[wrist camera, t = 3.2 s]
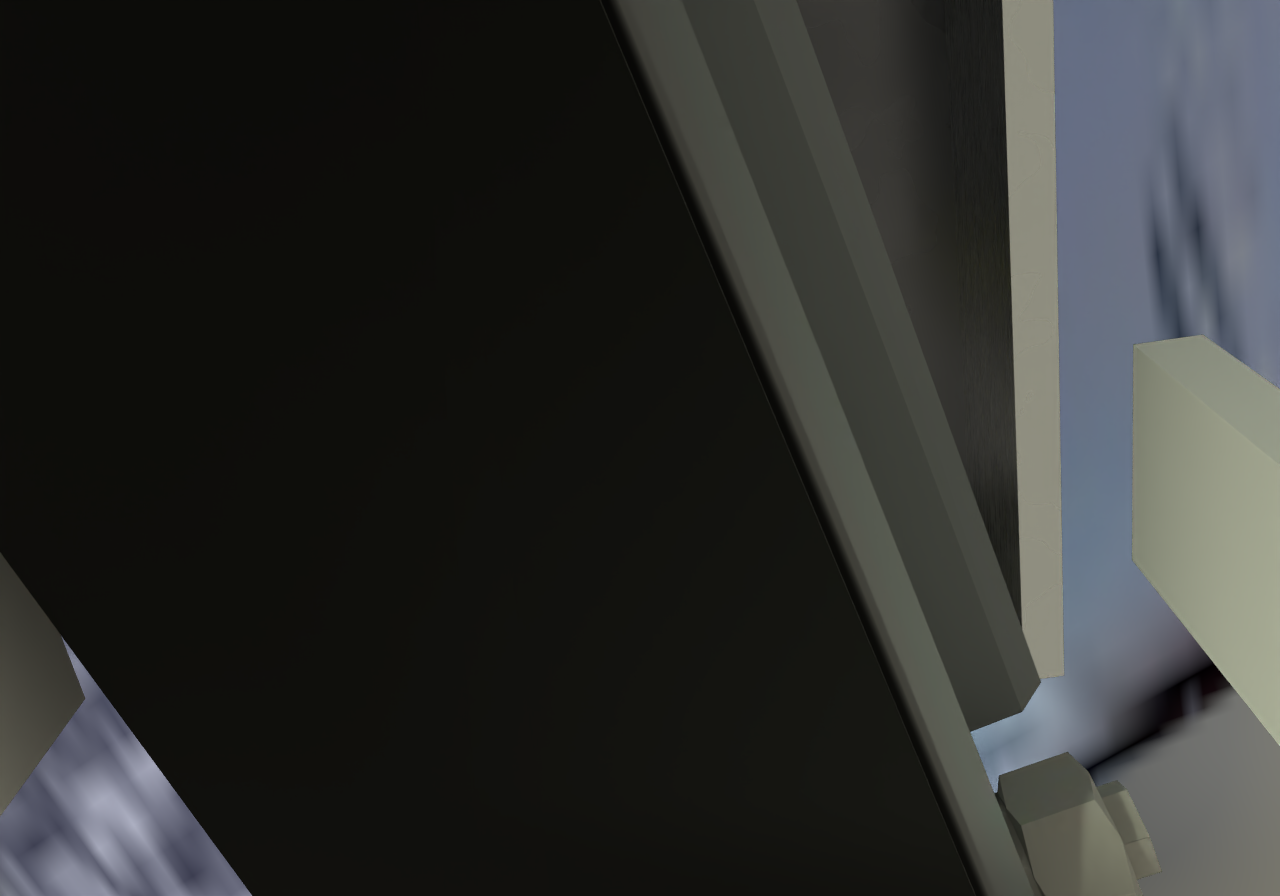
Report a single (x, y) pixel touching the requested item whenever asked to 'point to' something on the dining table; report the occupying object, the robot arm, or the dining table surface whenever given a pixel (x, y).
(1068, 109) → the dining table surface
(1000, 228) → the case
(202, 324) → the electrical component
